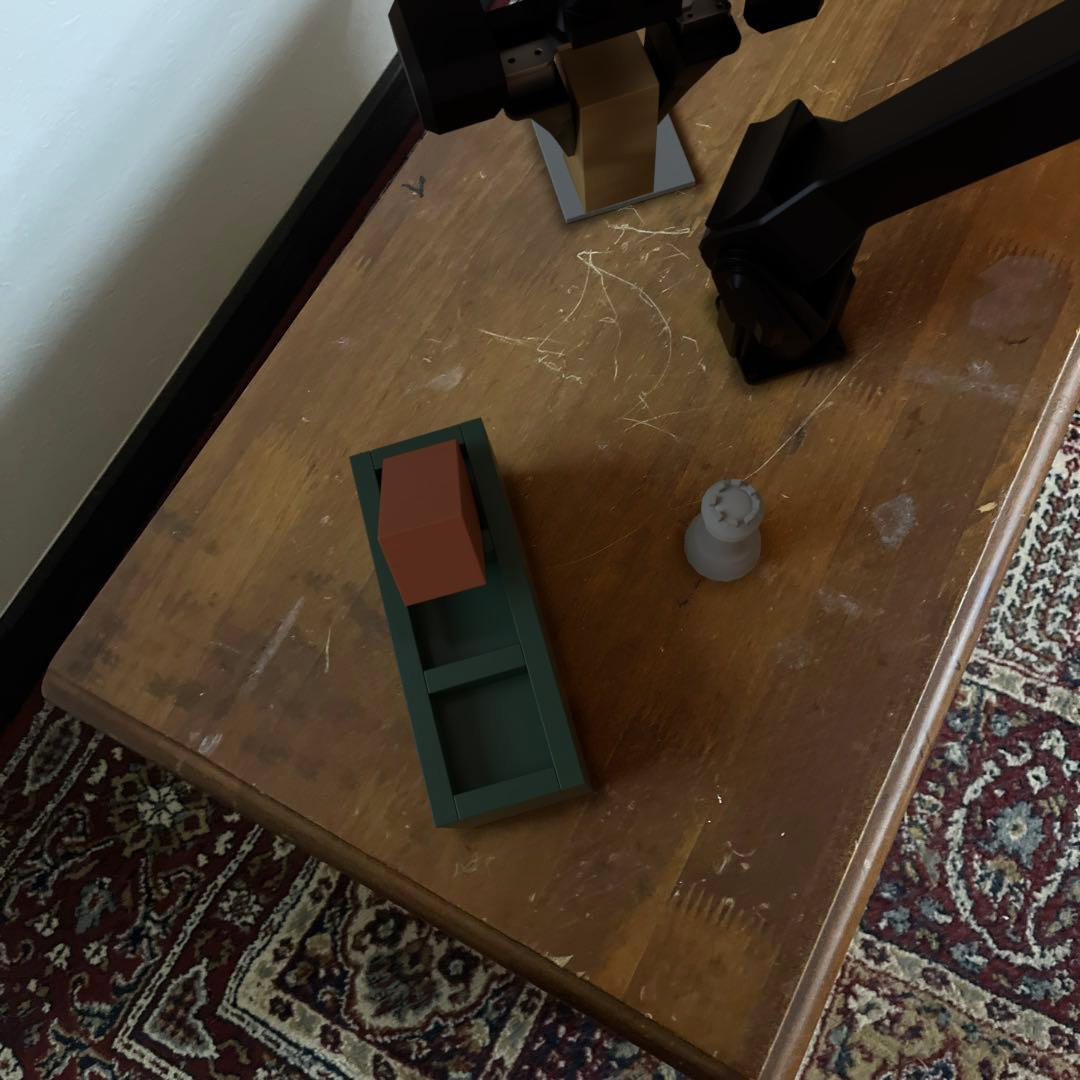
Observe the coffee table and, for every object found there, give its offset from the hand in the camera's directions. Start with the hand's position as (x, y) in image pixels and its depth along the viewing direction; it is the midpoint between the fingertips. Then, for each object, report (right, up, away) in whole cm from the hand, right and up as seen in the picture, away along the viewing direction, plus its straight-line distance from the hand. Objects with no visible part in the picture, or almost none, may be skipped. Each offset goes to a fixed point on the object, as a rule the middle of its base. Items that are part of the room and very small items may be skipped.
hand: (608, 137), depth 50 cm
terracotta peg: (-9, -20, -3) cm, 22 cm away
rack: (-7, -27, +6) cm, 29 cm away
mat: (+1, +6, +15) cm, 17 cm away
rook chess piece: (+7, -22, +6) cm, 24 cm away
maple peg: (0, 0, -1) cm, 1 cm away
